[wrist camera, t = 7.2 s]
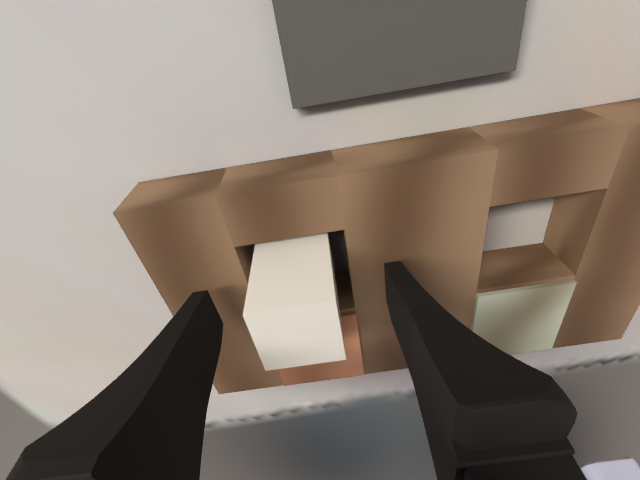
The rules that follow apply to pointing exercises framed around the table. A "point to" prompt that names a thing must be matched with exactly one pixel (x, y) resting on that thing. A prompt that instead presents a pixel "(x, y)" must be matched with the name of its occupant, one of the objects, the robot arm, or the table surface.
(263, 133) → the table surface
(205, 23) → the table surface
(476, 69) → the grey square plate
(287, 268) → the plug
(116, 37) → the table surface
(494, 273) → the socket block
